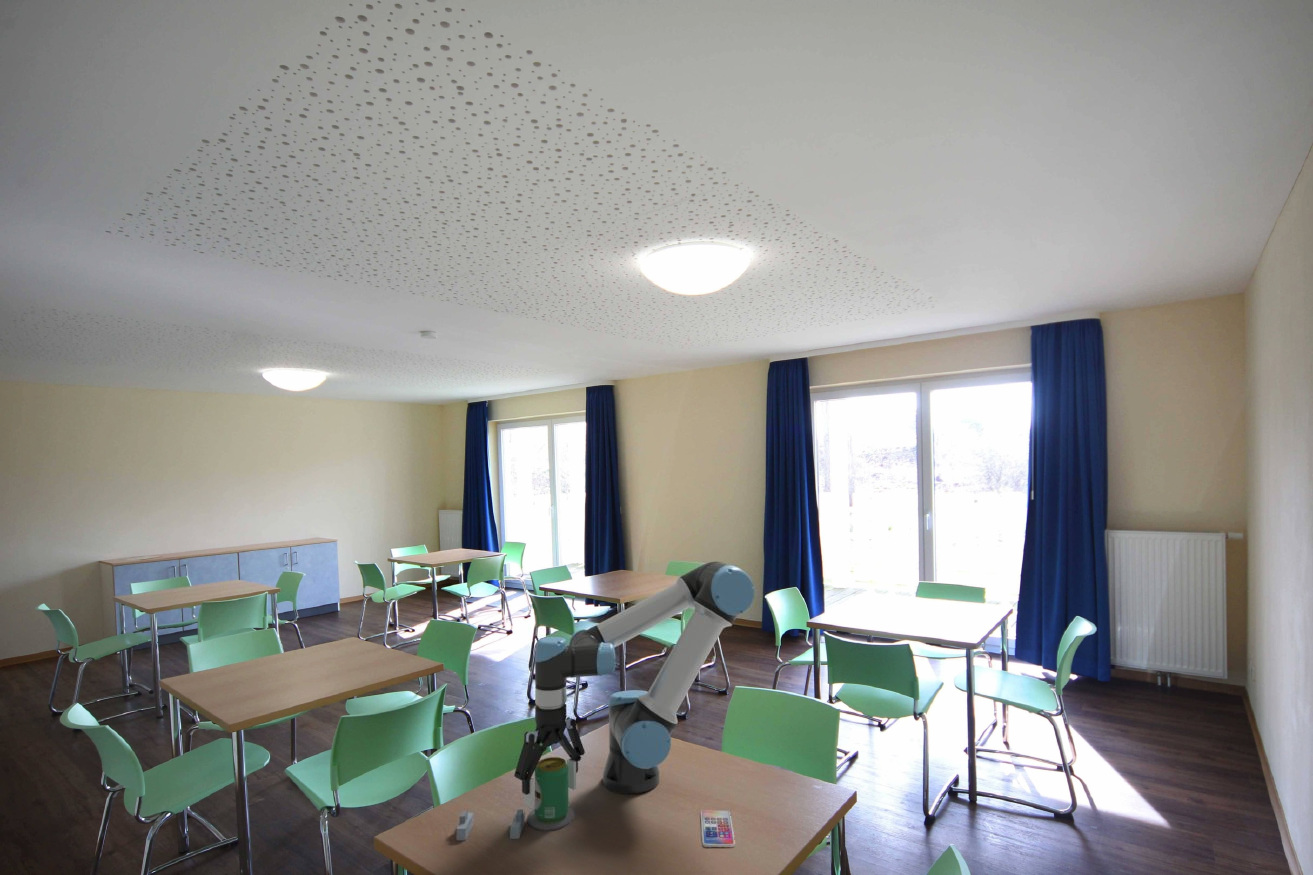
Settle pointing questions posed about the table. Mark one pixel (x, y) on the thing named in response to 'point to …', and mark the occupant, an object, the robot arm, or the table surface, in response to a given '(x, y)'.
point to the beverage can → (551, 789)
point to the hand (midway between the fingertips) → (550, 796)
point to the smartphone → (716, 828)
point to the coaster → (550, 826)
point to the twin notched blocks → (468, 822)
